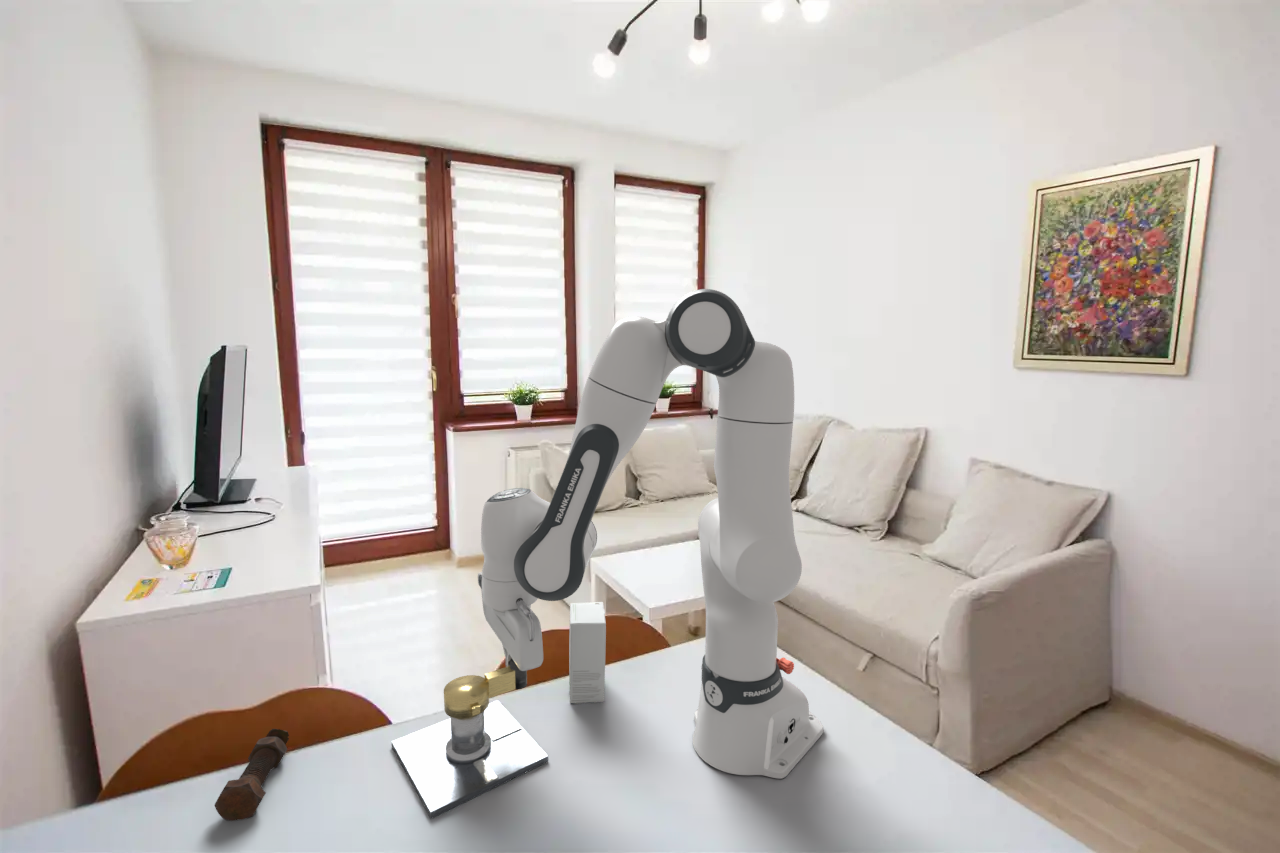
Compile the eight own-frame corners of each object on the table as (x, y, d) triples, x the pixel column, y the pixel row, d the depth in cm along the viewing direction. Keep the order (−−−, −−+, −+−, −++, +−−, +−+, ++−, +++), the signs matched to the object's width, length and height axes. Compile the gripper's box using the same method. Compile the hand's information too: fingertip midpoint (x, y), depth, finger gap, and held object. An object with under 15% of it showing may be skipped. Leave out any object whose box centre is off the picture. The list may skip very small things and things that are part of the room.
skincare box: (569, 679, 114) (568, 601, 112) (604, 677, 115) (604, 600, 112) (569, 705, 106) (568, 622, 103) (606, 703, 106) (606, 621, 104)
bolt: (285, 756, 95) (245, 829, 81) (254, 746, 94) (207, 817, 79) (303, 724, 95) (266, 791, 81) (272, 713, 94) (228, 778, 79)
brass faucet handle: (454, 728, 87) (453, 698, 86) (437, 698, 94) (435, 670, 93) (537, 698, 94) (537, 670, 93) (515, 672, 101) (515, 646, 100)
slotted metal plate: (497, 705, 106) (496, 662, 105) (548, 761, 92) (547, 713, 91) (391, 747, 95) (389, 700, 94) (431, 818, 81) (428, 764, 80)
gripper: (553, 609, 89) (554, 695, 91) (510, 564, 106) (511, 636, 108) (511, 619, 86) (513, 707, 88) (474, 570, 103) (476, 645, 105)
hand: (512, 668), depth 98 cm, fingers closed
